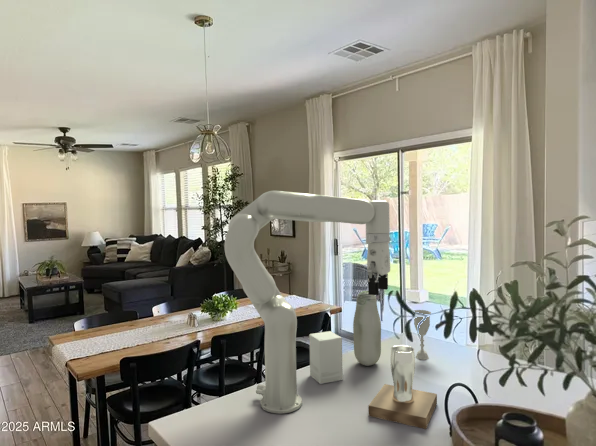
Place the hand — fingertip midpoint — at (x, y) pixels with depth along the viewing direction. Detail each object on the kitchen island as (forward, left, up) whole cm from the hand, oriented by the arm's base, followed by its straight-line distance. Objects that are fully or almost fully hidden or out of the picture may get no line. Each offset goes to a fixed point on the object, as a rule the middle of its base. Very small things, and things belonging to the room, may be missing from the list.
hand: (378, 291), depth 132 cm
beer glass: (+10, -9, -30) cm, 32 cm away
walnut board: (+10, -9, -32) cm, 35 cm away
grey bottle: (-11, +20, -32) cm, 40 cm away
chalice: (+6, +36, -32) cm, 49 cm away
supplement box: (-20, +2, -32) cm, 38 cm away
